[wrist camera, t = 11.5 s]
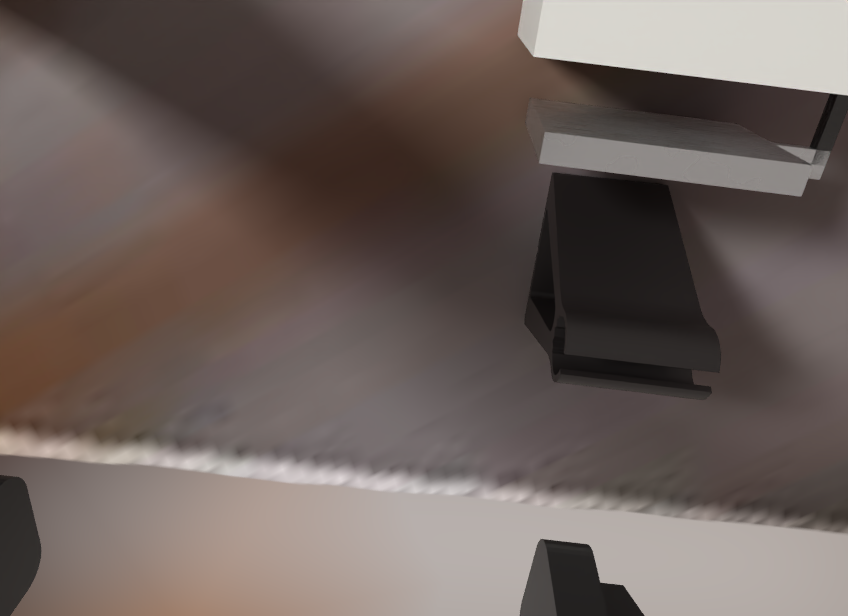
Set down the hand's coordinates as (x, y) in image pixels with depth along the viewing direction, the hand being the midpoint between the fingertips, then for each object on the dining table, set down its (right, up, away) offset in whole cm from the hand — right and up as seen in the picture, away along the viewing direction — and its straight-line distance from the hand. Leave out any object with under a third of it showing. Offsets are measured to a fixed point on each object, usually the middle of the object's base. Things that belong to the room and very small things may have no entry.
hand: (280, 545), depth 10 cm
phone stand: (+12, +7, +26) cm, 29 cm away
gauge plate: (+14, +16, +19) cm, 29 cm away
